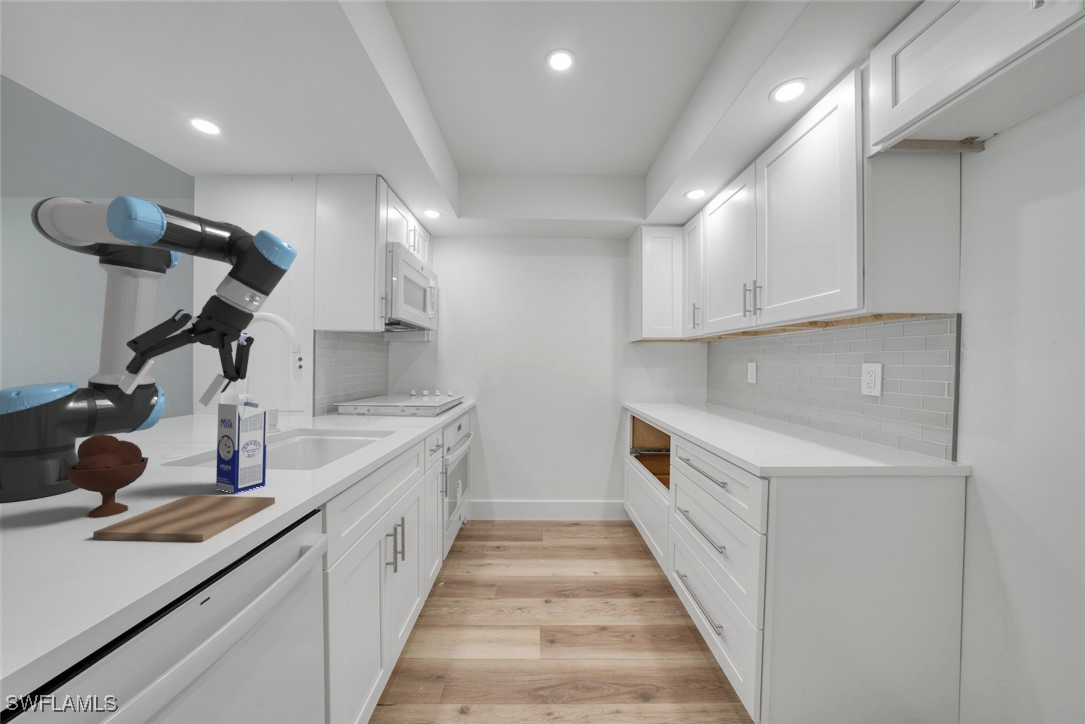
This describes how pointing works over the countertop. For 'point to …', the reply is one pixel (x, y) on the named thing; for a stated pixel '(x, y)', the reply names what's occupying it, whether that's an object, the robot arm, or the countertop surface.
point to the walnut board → (186, 519)
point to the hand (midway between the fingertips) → (167, 398)
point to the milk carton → (241, 447)
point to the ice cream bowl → (106, 470)
